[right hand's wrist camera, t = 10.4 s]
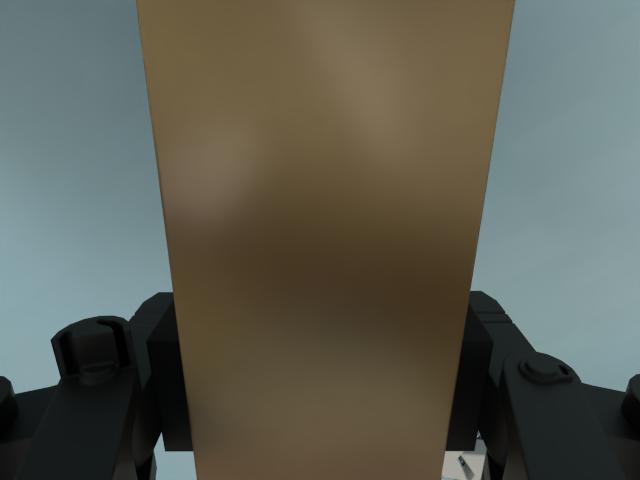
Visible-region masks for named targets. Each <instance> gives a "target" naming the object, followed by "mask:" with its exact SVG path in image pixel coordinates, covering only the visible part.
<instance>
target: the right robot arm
mask: <svg viewBox="0 0 640 480" xmlns="http://www.w3.org/2000/svg"><path fill="white" fill-rule="evenodd" d="M51 343H52V347H53V351H54V354H55V358H56V362H57V365H58V369H59V373H60V376H61V379H60V381H59V383H58V385H55V386H51V387H47V388H42V389H38V390H33V391H28V392H23V393H18V394H15V393H14V390H13V387H12V384H11V381H9V380H8V379H7V378H5V377H4V376H0V480H155V478H156V469H157V467H156V460H155V454H154V448H155V445H156V443H157V441H158V439H159V436H160V434H161V432H162V436H163V442H164V447H165V451H193V444H192V436H191V428H190V421H189V413H188V405H187V397H186V389H185V381H184V373H183V366H182V358H181V350H180V342H179V334H178V326H177V318H176V311H175V303H174V295H173V292H159V293H157V294H155V295H154V296H152V297H151V298H149V299H148V300H146V301H144V302H143V303H142V305H141V306H140V307H139V309H138V310H137V311H136V312H135V316H132V318H131V319H130V320H129V321H127V320H125V319H124V318H121V317H117V316H97V317H92V318H87V319H83V320H81V321H78V322H75V323H73V324H70V325H69V326H67V327H65V328H64V329H62V330H60V331H59V332H58V333H57V334H56V335H55V336H54V337H53V338H52V339H51ZM478 430H479V433H480V435H481V437H482V439H483V442H484V444H485V446H486V448H487V449H486V454H485V460H484V465H483V470H482V476H481V480H640V374H636V375H635V376H634V377H632V378H631V379H630V380H629V383H628V386H627V389H626V392H621V391H617V390H612V389H607V388H602V387H597V386H592V385H588V384H585V383H582V382H581V380H580V378H579V376H578V375H577V374H576V373H575V371H574V370H573V369H572V368H571V367H570V366H568V365H567V364H565V363H564V362H563V361H561V360H559V359H557V358H554V357H552V356H550V355H548V354H544V353H540V352H536V351H535V350H534V348H533V347H532V346H531V344H530V343H529V342H528V341H527V339H526V338H525V337H524V335H523V334H522V333H521V332H520V330H519V329H518V328H517V326H516V325H515V324H513V323H512V320H511V319H510V317H509V316H508V315H507V314H505V311H504V310H503V308H502V307H501V306H500V304H499V303H498V302H497V301H496V300H495V299H493V298H492V297H490V296H488V295H487V294H485V293H484V292H482V291H470V295H469V302H468V308H467V315H466V321H465V328H464V334H463V340H462V347H461V353H460V360H459V366H458V373H457V379H456V386H455V392H454V399H453V405H452V411H451V418H450V424H449V431H448V437H447V444H446V450H445V451H475V446H476V440H477V434H478Z"/></svg>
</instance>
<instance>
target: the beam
mask: <svg viewBox="0 0 640 480" xmlns="http://www.w3.org/2000/svg"><path fill="white" fill-rule="evenodd" d="M136 4H137V12H138V20H139V28H140V36H141V44H142V51H143V59H144V67H145V75H146V83H147V91H148V99H149V106H150V114H151V122H152V130H153V138H154V146H155V154H156V161H157V169H158V177H159V185H160V193H161V201H162V209H163V216H164V224H165V232H166V240H167V248H168V256H169V264H170V271H171V279H172V287H173V295H174V303H175V311H176V318H177V326H178V334H179V342H180V350H181V358H182V366H183V373H184V381H185V389H186V397H187V405H188V413H189V421H190V428H191V436H192V444H193V452H194V460H195V468H196V476H197V480H441V476H442V470H443V463H444V457H445V450H446V444H447V437H448V431H449V424H450V418H451V411H452V405H453V399H454V392H455V386H456V379H457V373H458V366H459V360H460V353H461V347H462V340H463V334H464V328H465V321H466V315H467V308H468V302H469V295H470V289H471V282H472V276H473V269H474V263H475V256H476V250H477V244H478V237H479V231H480V224H481V218H482V211H483V205H484V198H485V192H486V185H487V179H488V173H489V166H490V160H491V153H492V147H493V140H494V134H495V127H496V121H497V114H498V108H499V102H500V95H501V89H502V82H503V76H504V69H505V63H506V56H507V50H508V43H509V37H510V30H511V24H512V18H513V11H514V5H515V0H136Z"/></svg>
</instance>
